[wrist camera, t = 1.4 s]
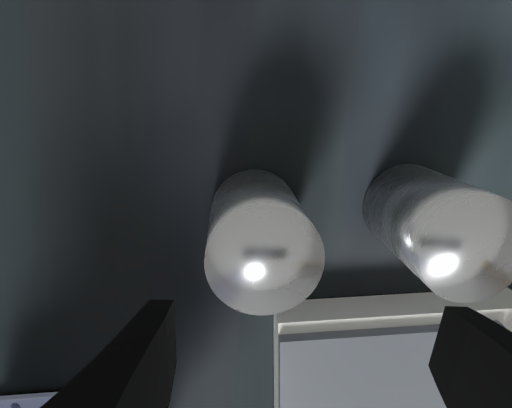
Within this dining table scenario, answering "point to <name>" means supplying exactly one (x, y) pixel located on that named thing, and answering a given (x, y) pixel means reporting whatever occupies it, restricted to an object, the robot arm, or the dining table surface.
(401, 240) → the cylinder
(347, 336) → the grey boxy piece
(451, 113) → the dining table surface
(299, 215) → the steel weight
